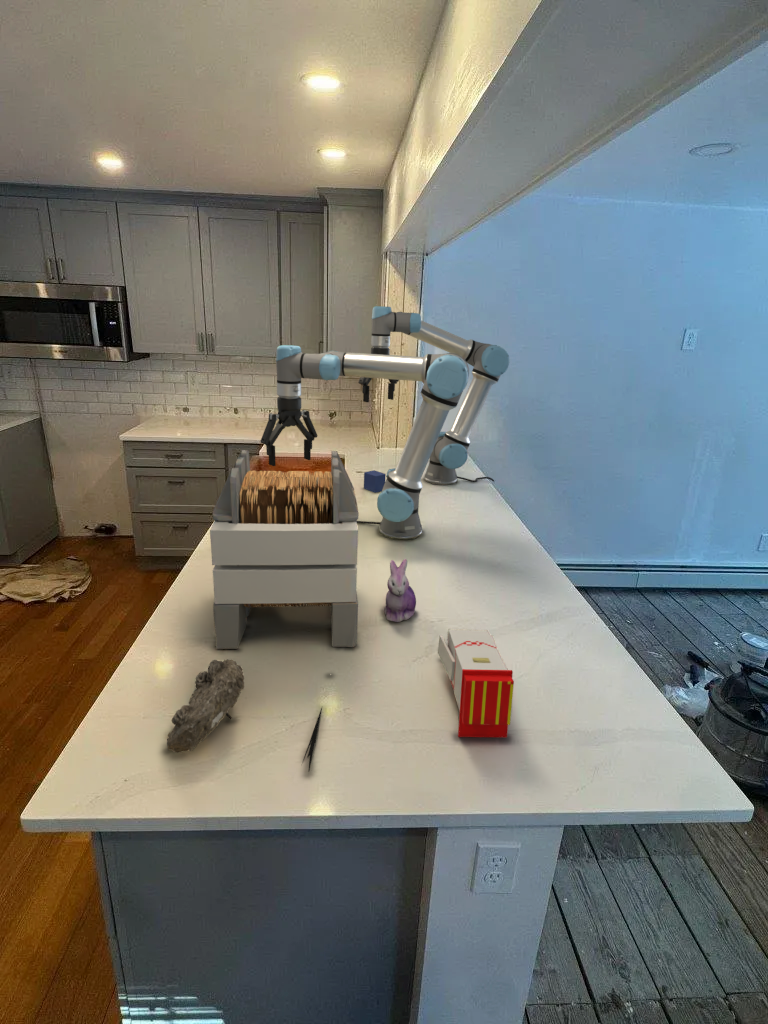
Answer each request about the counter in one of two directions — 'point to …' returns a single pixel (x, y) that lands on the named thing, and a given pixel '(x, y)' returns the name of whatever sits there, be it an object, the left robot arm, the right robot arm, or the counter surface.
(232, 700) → the fossil
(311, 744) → the feather
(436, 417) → the left robot arm
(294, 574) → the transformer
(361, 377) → the right robot arm
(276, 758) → the counter surface
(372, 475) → the block
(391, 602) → the figurine
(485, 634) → the toy
